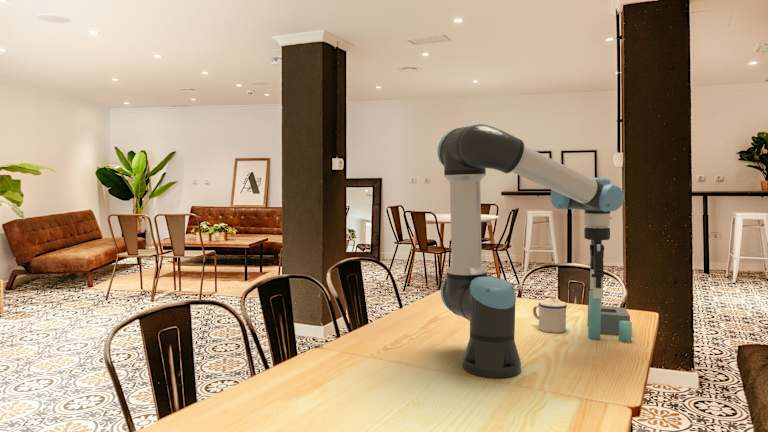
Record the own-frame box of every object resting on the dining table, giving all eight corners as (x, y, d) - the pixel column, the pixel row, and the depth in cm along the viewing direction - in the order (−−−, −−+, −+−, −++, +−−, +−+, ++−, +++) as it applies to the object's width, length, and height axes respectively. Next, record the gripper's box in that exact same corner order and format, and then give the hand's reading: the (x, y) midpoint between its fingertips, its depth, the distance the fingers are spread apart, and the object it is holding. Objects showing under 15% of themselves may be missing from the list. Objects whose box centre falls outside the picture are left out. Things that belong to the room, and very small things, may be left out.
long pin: (600, 340, 166) (602, 293, 165) (588, 339, 167) (589, 292, 166) (599, 337, 169) (601, 290, 168) (587, 336, 170) (589, 290, 169)
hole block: (629, 336, 170) (630, 316, 170) (589, 332, 174) (590, 313, 174) (624, 326, 182) (625, 307, 181) (587, 323, 185) (587, 305, 185)
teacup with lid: (571, 330, 177) (572, 295, 177) (556, 335, 171) (557, 299, 171) (540, 322, 186) (541, 290, 186) (525, 327, 181) (525, 293, 180)
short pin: (632, 343, 163) (632, 323, 163) (619, 341, 164) (620, 322, 164) (630, 339, 166) (631, 320, 166) (618, 338, 168) (618, 320, 167)
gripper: (614, 230, 153) (613, 303, 154) (606, 223, 177) (605, 286, 178) (586, 230, 155) (585, 301, 157) (582, 223, 179) (581, 285, 180)
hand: (596, 293), depth 167 cm, fingers open, 13 cm apart
